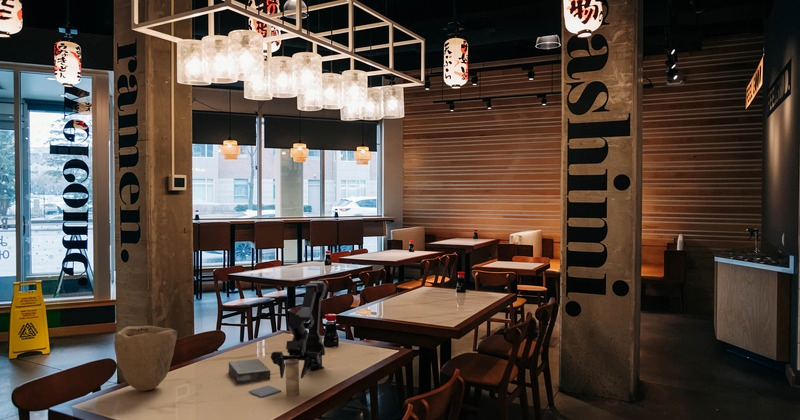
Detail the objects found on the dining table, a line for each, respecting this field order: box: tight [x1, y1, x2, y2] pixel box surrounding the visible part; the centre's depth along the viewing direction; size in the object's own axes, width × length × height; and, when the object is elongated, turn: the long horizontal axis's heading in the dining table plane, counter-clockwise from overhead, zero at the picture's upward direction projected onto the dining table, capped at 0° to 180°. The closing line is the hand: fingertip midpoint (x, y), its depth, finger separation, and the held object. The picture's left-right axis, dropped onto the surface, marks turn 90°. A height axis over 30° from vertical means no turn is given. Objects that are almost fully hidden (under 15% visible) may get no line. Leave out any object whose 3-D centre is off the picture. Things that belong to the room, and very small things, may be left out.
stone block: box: [228, 358, 271, 385], centre depth 232 cm, size 14×20×5 cm
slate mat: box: [248, 385, 282, 399], centre depth 211 cm, size 9×9×1 cm
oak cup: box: [284, 359, 300, 397], centre depth 208 cm, size 5×5×13 cm
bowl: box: [113, 325, 178, 392], centre depth 215 cm, size 22×22×25 cm
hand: (291, 378), depth 207 cm, fingers open, 8 cm apart
